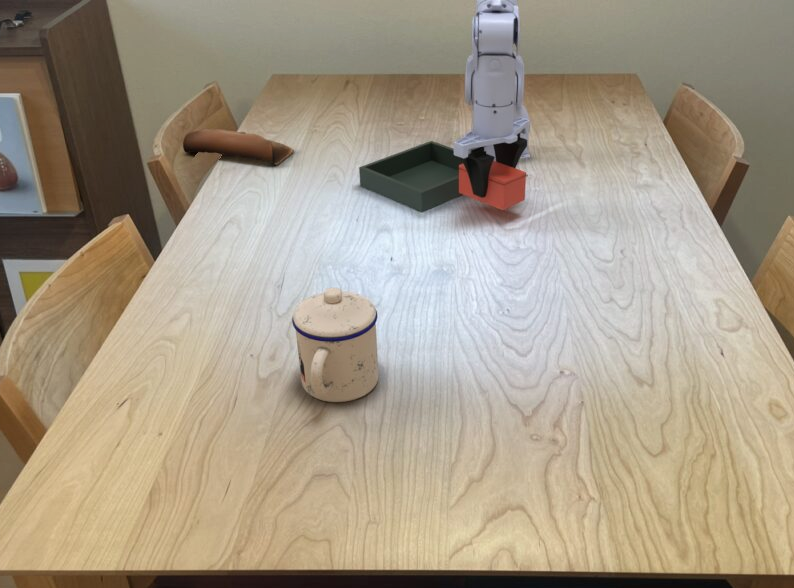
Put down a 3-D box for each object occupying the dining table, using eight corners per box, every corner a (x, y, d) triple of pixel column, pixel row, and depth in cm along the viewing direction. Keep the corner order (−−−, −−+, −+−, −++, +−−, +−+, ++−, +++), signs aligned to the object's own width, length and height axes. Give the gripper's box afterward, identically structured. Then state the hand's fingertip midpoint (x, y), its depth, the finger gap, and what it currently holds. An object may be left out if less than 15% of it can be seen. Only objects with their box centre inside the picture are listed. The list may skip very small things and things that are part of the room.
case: (480, 183, 137) (481, 156, 135) (525, 200, 132) (526, 172, 129) (458, 192, 134) (458, 165, 132) (502, 210, 129) (504, 181, 126)
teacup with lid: (315, 353, 103) (305, 266, 97) (389, 362, 102) (385, 274, 95) (278, 416, 94) (265, 323, 87) (360, 426, 92) (353, 333, 86)
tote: (431, 161, 153) (431, 140, 151) (493, 184, 144) (494, 163, 142) (360, 188, 143) (358, 167, 141) (422, 215, 135) (421, 192, 133)
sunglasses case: (296, 147, 156) (284, 122, 151) (283, 179, 154) (270, 155, 148) (208, 136, 161) (192, 111, 155) (193, 167, 158) (177, 143, 153)
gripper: (480, 120, 118) (478, 212, 126) (548, 95, 127) (542, 183, 134) (442, 108, 122) (443, 198, 130) (511, 84, 131) (507, 170, 138)
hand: (491, 189), depth 132 cm, fingers closed on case, 5 cm apart
